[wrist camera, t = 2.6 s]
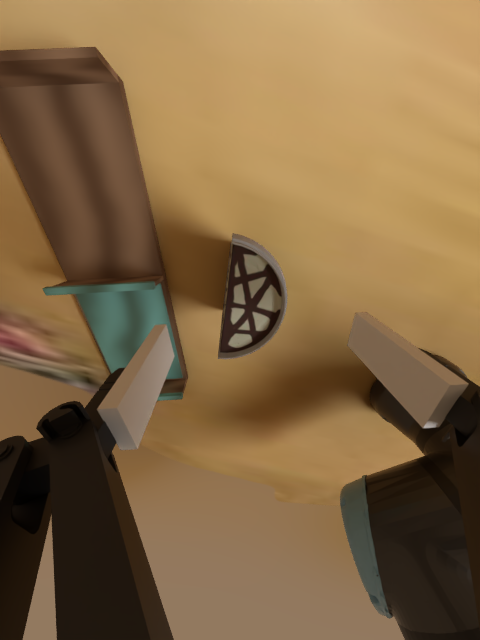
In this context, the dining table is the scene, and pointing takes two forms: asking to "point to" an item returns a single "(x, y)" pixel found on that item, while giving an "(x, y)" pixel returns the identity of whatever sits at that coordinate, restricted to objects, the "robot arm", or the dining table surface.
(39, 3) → the dining table surface
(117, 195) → the rack
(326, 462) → the dining table surface
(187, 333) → the dining table surface
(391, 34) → the dining table surface
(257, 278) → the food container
